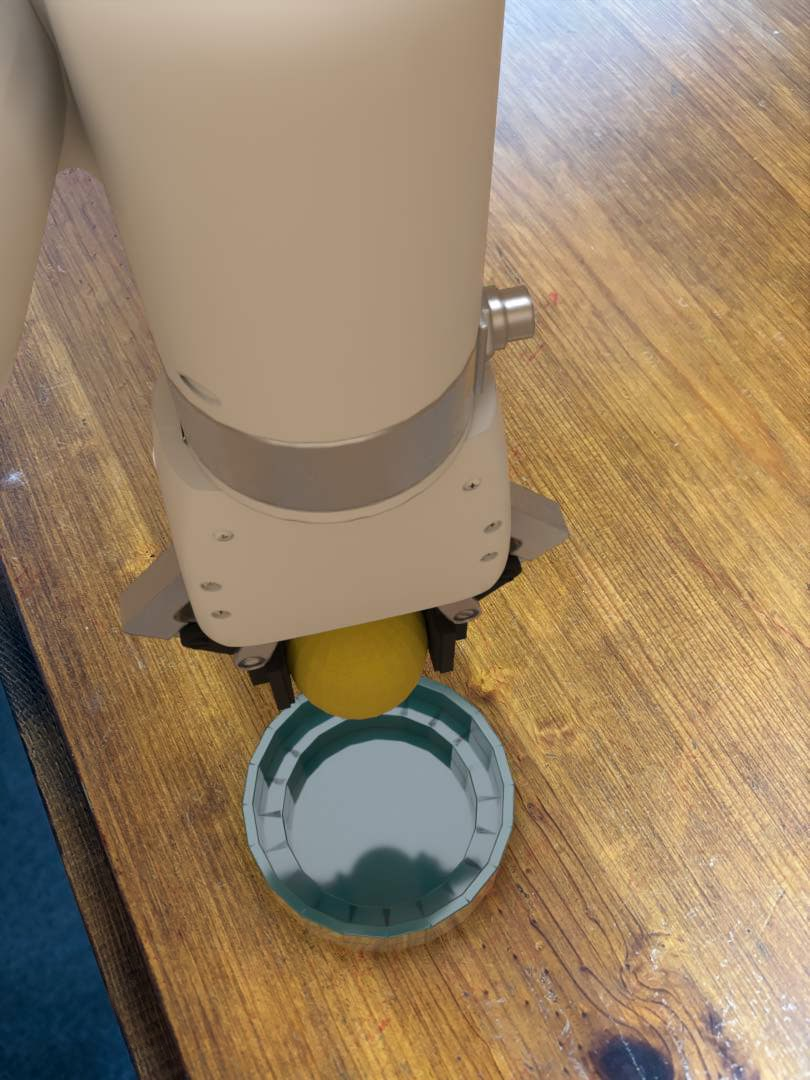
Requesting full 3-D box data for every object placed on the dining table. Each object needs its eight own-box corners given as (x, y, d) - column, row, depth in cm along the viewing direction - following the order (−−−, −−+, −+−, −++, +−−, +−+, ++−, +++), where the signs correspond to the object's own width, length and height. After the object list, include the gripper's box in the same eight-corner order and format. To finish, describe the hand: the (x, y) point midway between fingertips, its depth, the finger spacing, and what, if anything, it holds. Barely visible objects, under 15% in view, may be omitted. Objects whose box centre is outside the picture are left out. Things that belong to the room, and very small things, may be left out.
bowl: (278, 982, 56) (267, 968, 52) (237, 730, 63) (224, 699, 58) (537, 917, 57) (547, 899, 53) (470, 678, 64) (474, 644, 60)
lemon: (379, 771, 42) (372, 698, 35) (267, 700, 44) (239, 617, 37) (452, 663, 45) (458, 574, 38) (343, 599, 46) (330, 502, 39)
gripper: (607, 198, 29) (539, 532, 45) (-37, 314, 27) (129, 619, 43) (709, 416, 25) (596, 695, 41) (-26, 566, 23) (151, 798, 39)
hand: (357, 654), depth 42 cm, fingers closed on lemon, 5 cm apart
